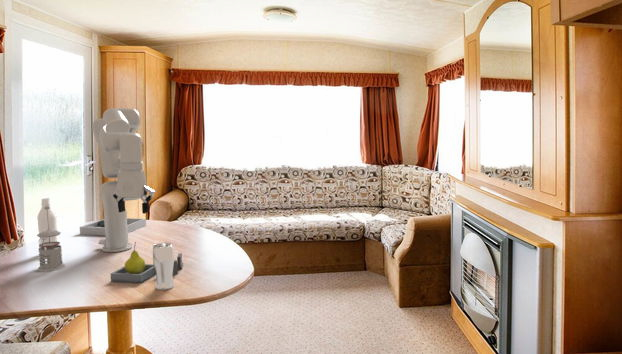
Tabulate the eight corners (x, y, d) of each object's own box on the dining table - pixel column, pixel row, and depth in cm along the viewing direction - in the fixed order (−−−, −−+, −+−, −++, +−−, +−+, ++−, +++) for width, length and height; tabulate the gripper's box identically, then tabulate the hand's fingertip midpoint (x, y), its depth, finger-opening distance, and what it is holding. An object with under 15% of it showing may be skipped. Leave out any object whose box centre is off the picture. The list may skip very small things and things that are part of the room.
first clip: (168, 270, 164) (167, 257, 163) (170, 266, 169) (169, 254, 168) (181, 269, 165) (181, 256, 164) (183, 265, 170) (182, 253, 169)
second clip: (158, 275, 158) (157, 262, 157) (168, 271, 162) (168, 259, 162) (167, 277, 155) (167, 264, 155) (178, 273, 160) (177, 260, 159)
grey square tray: (111, 281, 152) (110, 273, 151) (130, 270, 163) (129, 263, 163) (141, 283, 150) (141, 275, 149) (158, 272, 162) (158, 264, 161)
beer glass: (167, 281, 151) (165, 241, 149) (179, 285, 147) (177, 244, 146) (150, 287, 145) (147, 245, 144) (162, 292, 141) (160, 248, 140)
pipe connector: (119, 217, 240) (122, 222, 227) (119, 226, 241) (122, 232, 228) (96, 220, 235) (98, 225, 222) (97, 229, 235) (99, 235, 222)
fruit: (139, 278, 153) (137, 246, 152) (121, 277, 154) (119, 245, 152) (148, 271, 160) (147, 241, 158) (131, 271, 160) (130, 240, 159)
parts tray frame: (80, 234, 223) (79, 226, 223) (108, 224, 247) (108, 217, 246) (121, 235, 219) (121, 228, 219) (146, 225, 243) (145, 218, 242)
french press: (44, 273, 162) (39, 209, 159) (29, 268, 168) (24, 206, 165) (70, 266, 170) (66, 205, 167) (55, 261, 176) (50, 202, 173)
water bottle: (62, 253, 188) (58, 198, 186) (46, 257, 182) (42, 200, 179) (52, 251, 191) (48, 197, 189) (36, 255, 185) (32, 199, 182)
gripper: (103, 167, 153) (106, 213, 155) (147, 168, 150) (149, 215, 153) (116, 165, 160) (118, 209, 163) (158, 166, 158) (160, 211, 160)
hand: (133, 212), depth 158 cm, fingers open, 9 cm apart
